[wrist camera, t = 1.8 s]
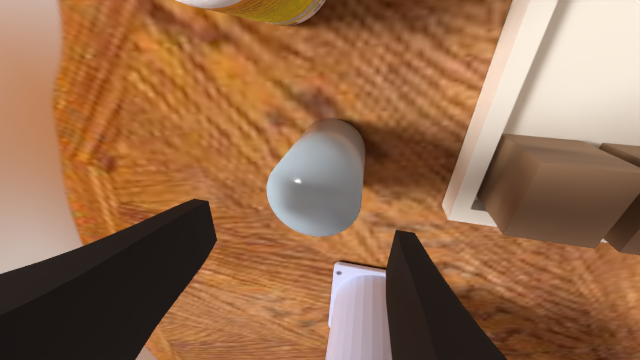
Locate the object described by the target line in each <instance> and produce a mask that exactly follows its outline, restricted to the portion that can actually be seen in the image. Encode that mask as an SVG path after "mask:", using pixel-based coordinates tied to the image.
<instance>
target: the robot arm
mask: <svg viewBox="0 0 640 360" xmlns="http://www.w3.org/2000/svg"><path fill="white" fill-rule="evenodd" d="M216 241H217V238H216V234H215V229H214V224H213V220H212V215H211V211H210V206H209V202H208V201H205V200H198V199H193V200H190V201H187V202H185V203H182V204H180V205H178V206H175V207H173V208H171V209H169V210H166V211H164V212H162V213H160V214H157V215H155V216H153V217H151V218H149V219H146V220H144V221H142V222H140V223H137V224H135V225H133V226H131V227H128V228H126V229H124V230H121V231H119V232H116V233H114V234H112V235H109V236H107V237H105V238H102V239H100V240H97V241H95V242H93V243H90V244H88V245H85V246H82V247H80V248H77V249H75V250H72V251H69V252H66V253H63V254H61V255H58V256H55V257H52V258H49V259H46V260H43V261H41V262H38V263H34V264H31V265H28V266H25V267H22V268H18V269H15V270H12V271H9V272H6V273H3V274H0V360H135V359H136V358H137V356H138V354H139V353H140V351H141V350H142V348H143V347H144V345H145V343H146V342H147V340H148V339H149V337H150V336H151V334H152V332H153V331H154V329H155V328H156V326H157V325H158V324H159V322H160V321H161V319H162V318H163V317H164V315H165V314H166V313H167V311H168V310H169V309H170V307H171V306H172V305H173V303H174V302H175V301H176V299H177V298H178V297H179V296H180V294H181V293H182V292H183V290H184V289H185V288H186V286H187V285H188V284H189V282H190V281H191V280H192V278H193V277H194V276H195V274H196V273H197V272H198V270H199V269H200V268H201V266H202V265H203V264H204V262H205V260H206V259H207V257H208V255H209V254H210V252H211V250H212V248H213V247H214V245H215V243H216ZM339 271H341V272H339ZM328 325H329V327H330V334H329V341H328V347H327V353H326V360H507V359H506V358H505V356H504V355H503V354H502V353H501V352H500V351H499V349H498V348H497V347H496V346H495V345H494V344H493V342H492V341H491V340H490V339H489V338H488V336H487V335H486V334H485V333H484V332H483V330H482V329H481V328H480V327H479V325H478V324H477V323H476V322H475V320H474V319H473V318H472V316H471V315H470V314H469V312H468V311H467V310H466V309H465V307H464V306H463V305H462V303H461V302H460V301H459V299H458V298H457V296H456V295H455V294H454V292H453V291H452V290H451V288H450V287H449V285H448V284H447V282H446V281H445V279H444V278H443V277H442V275H441V274H440V272H439V271H438V269H437V268H436V266H435V265H434V263H433V262H432V260H431V258H430V257H429V255H428V254H427V252H426V251H425V249H424V247H423V246H422V244H421V242H420V241H419V239H418V238H417V236H416V235H415V233H412V232H406V231H399V230H396V232H395V236H394V240H393V244H392V248H391V252H390V256H389V260H388V264H387V268H386V270H383V269H377V268H371V267H366V266H360V265H355V264H349V263H344V262H336V263H335V265H334V273H333V283H332V294H331V304H330V314H329V324H328Z"/></svg>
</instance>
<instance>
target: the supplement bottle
mask: <svg viewBox="0 0 640 360" xmlns="http://www.w3.org/2000/svg"><path fill="white" fill-rule="evenodd" d="M176 1H179V2H182V3H184V4H187V5H191V6H194V7H198V8H203V9H208V10H212V11H217V12H221V13H226V14H230V15H235V16H239V17H243V18H248V19H252V20H257V21H261V22H265V23H269V24H274V25H281V26H290V25H295V24H299V23H301V22H303V21H305V20H307V19H309V18H310V17H311V16H313V15H314V14H315V13H316V12H317V11H318V10H319V9H320V8H321V6H322V5H323V4H324V2H325V1H326V0H176Z"/></svg>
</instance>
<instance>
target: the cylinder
mask: <svg viewBox="0 0 640 360" xmlns="http://www.w3.org/2000/svg"><path fill="white" fill-rule="evenodd" d="M364 164H365V144H364V141H363V139H362V137H361V135H360V133H359V132H358V131H357V130H356V129H355V128H354V127H353V126H352V125H350V124H349V123H347V122H345V121H342V120H339V119H323V120H319V121H317V122H315V123H313V124H312V125H310V126H309V127H308V128H307V129H306V130H305V131H304V133H303V134H302V135H301V136H300V138H299V139H298V140H297V141H296V142H295V144H294V145H293V146H292V147H291V149H290V150H289V151H288V152H287V153H286V155H285V156H284V157H283V158H282V160H281V161H280V162H279V163H278V164H277V166H276V167H275V168H274V170H273V171H272V172H271V174H270V176H269V179H268V182H267V197H268V201H269V204H270V206H271V208H272V210H273V211H274V213H275V214H276V216H277V217H278V218H279V219H280V220H281V221H282V222H283V223H284V224H286V225H287V226H288V227H290V228H292V229H293V230H295V231H298V232H300V233H303V234H306V235H311V236H330V235H334V234H337V233H340V232H342V231H344V230H345V229H347V228H348V227H349V226H351V225H352V224H353V222H354V221H355V220H356V218H357V217H358V214H359V212H360V208H361V201H362V188H363V176H364Z"/></svg>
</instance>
